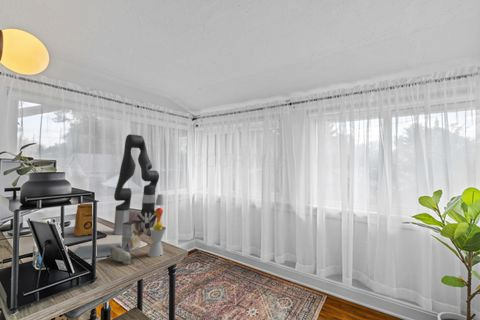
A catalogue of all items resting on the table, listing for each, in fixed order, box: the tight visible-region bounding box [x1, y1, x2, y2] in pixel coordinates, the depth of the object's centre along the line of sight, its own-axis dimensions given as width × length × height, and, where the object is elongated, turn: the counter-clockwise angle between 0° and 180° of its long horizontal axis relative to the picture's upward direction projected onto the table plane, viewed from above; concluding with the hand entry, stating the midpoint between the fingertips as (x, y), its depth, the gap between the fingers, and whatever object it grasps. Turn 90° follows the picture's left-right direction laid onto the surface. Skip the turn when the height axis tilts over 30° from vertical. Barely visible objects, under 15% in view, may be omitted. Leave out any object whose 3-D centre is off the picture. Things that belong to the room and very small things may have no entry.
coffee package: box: [73, 203, 93, 237], centre depth 151 cm, size 10×12×22 cm
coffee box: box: [121, 219, 142, 252], centre depth 132 cm, size 9×6×16 cm
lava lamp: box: [147, 193, 167, 258], centre depth 126 cm, size 9×9×35 cm
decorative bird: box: [106, 243, 132, 266], centre depth 114 cm, size 5×16×8 cm, turn 65°
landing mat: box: [74, 242, 122, 260], centre depth 124 cm, size 20×22×1 cm
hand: (146, 228), depth 136 cm, fingers closed
